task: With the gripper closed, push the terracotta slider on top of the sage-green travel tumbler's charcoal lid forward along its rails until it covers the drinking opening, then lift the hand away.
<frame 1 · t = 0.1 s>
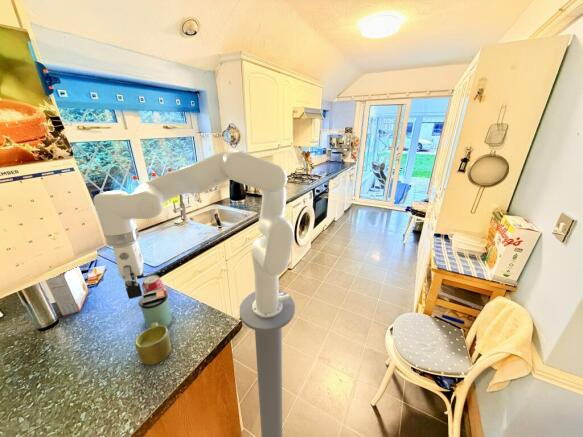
hand: (136, 287, 71), 25 cm above the worktop, tool pointing down, fingers open, 9 cm apart
soda can: (156, 302, 100), on the worktop
tumbler: (159, 322, 90), on the worktop
mug: (157, 350, 79), on the worktop
slider: (161, 292, 86), point 13 cm above the worktop, slide at 0.0 cm
cracker box: (76, 303, 99), on the worktop
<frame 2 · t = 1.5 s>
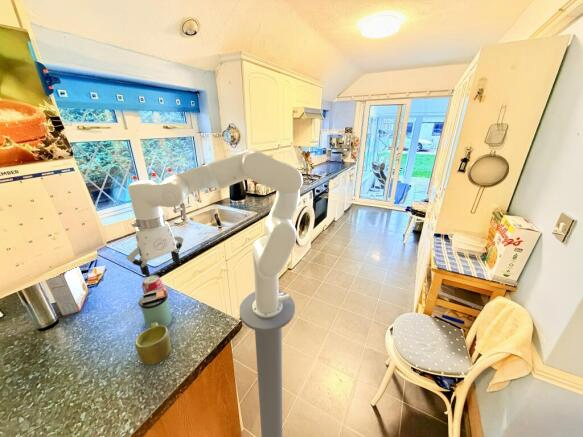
hand: (162, 268, 79), 26 cm above the worktop, tool pointing down, fingers open, 9 cm apart
nothing on the worktop moved.
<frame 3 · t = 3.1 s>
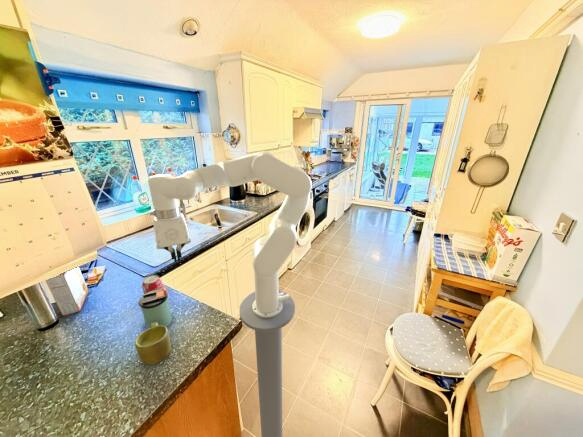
hand: (177, 259, 85), 25 cm above the worktop, tool pointing down, fingers closed
nothing on the worktop moved.
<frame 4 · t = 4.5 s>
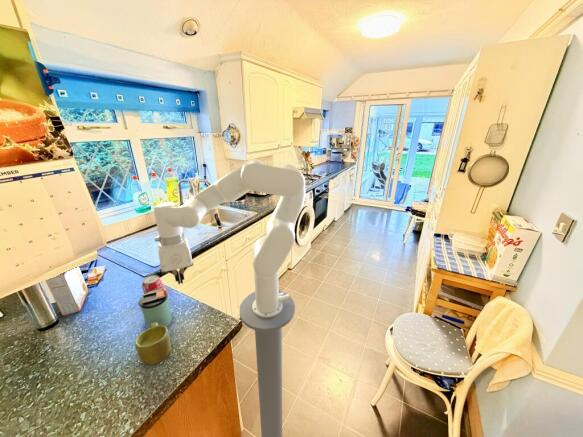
hand: (180, 281, 88), 16 cm above the worktop, tool pointing down, fingers closed
nothing on the worktop moved.
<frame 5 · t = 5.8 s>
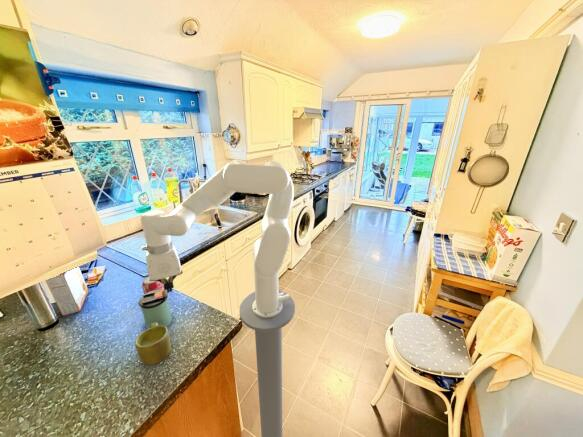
hand: (169, 290, 87), 13 cm above the worktop, tool pointing down, fingers closed
slider: (159, 292, 86), point 13 cm above the worktop, slide at 0.5 cm, touching gripper
everything else where it was.
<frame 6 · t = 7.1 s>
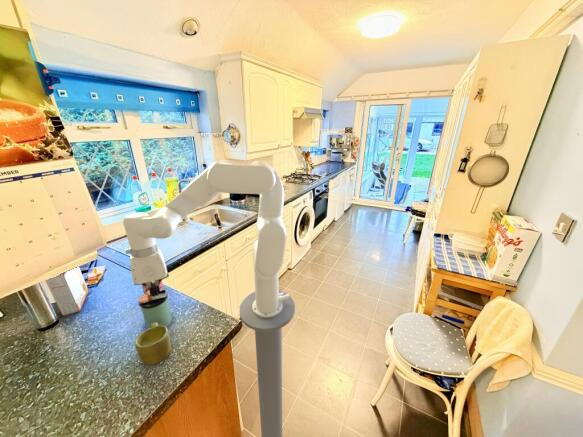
hand: (155, 293, 85), 13 cm above the worktop, tool pointing down, fingers closed
slider: (145, 296, 84), point 13 cm above the worktop, slide at 5.1 cm, touching gripper
everything else where it was.
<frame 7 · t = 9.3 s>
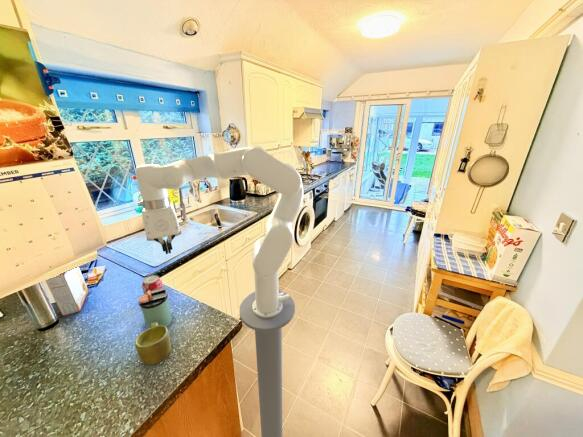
hand: (168, 251, 83), 28 cm above the worktop, tool pointing down, fingers closed
slider: (145, 296, 84), point 13 cm above the worktop, slide at 5.1 cm
everything else where it was.
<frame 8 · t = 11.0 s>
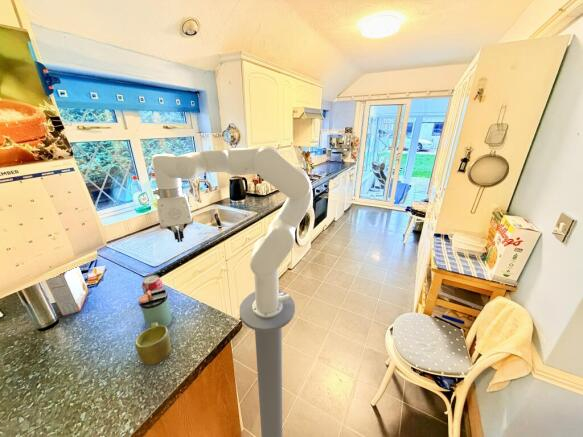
hand: (179, 240, 86), 31 cm above the worktop, tool pointing down, fingers closed
nothing on the worktop moved.
at the end: slider slide at 5.1 cm; slider pulled out 5.2 cm at the most during the clip, back to 5.1 cm at the end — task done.
